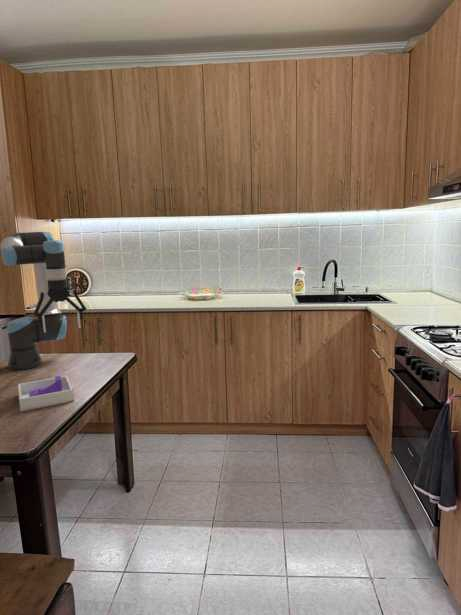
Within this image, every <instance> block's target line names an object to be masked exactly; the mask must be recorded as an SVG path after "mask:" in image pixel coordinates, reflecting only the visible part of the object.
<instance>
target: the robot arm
mask: <svg viewBox="0 0 461 615" xmlns="http://www.w3.org/2000/svg"><path fill="white" fill-rule="evenodd" d="M0 251H1V258H2V259H1V260H2V264H3V265H5V266H12V267H13V266H20V265H30V264H31V265H33V272H34V278H35V285H36V293H37V300H38V302H37V304H36V306H35V309H34V311H33V316H36V318H34V317H33V316H23V317H19V318H16V319H12V320H11V321H9V322H8V323H7V326H6V327H7V332H6V333H7V335H8V344H9V357H8V360H7V367H8V369H9V370H11V371H21V370H22V371H23V370H29V369H33V368H36V367H39V366H41V365H42V364H43V361H42V359H43V358H42V356H41V355H40V353H39V351H38V348H37V343H38V344H39V343H45V342H51V341H58V340H62V339H65V338H66V335H67V329H68V328H67V326H68V325H67V323H68V322H67V316H66V315H64V314H63V312H62V311H61V310H60V309H59V306H58V302H65V301H66V302H68V304H70V305H71V306H72V307H73V308H74V309H75V310H77V311H76V317H77V318H76V319H77V326H78V329H81V328H82V327H81V321H82V320H83V312H84V311H87V307H86V305H85V304H84V303H83V301H82V300H81V299H80V297H79V295H78V293H77V289H75V288H73V289H70V290H69V287H68V286H69V285H68V279H67V269H66V258H65V247H64V242H63V240H61V239H60V240H59V239H56V240H55V238H54V235H53V234H52V233H51V232H50V231H31V232H28V231H27V232H15V233H12V234H10V235H7V236H5V237H4V238H2V240H1V241H0ZM70 294H71V295H72V296H74V299H75V300H76V301H77V302H78V304H79V305H80V306H81V307H80V306H78V305H77V304H76V303H75V302H74V301H73V300H71V298H69V295H70Z"/></svg>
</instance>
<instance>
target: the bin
mask: <svg viewBox="0 0 461 615" xmlns="http://www.w3.org/2000/svg"><path fill="white" fill-rule="evenodd" d="M55 382H56V381H55V377H51V378H47V379H46V378H45V379H40V380H36V381H35V380H34V381H28V382H22V383H18V385H17V386H18V400H19V407H20V410H19V411H20V412H26V411H30V410H35V409H39V408H40V409H41V408H46V407H49V406H51V407H52V406H57V405H61V404H65V403H71V402H75V400H74V399H75V397H74V389H73V387H72V384H71V382H70V379H69V377H68V375H64V376H61V383H62V391H59V392H54V393H48V394H43V395H38V396H32V397H29V393H30V392H31V391H33V390H35V389H42V388H46V387H48V386H50V385H52V384H54V383H55Z"/></svg>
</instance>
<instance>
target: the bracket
mask: <svg viewBox="0 0 461 615" xmlns="http://www.w3.org/2000/svg"><path fill="white" fill-rule="evenodd" d="M61 377H62V376H61V375H58V376H54V378H55V381H56V382H55V383H54V384H52V385H50V386H48V387H46V388H42V389H35V390H33V391H31V392H30V393H29V397H32V396H38V395H43V394H48V393H54V392H59V391H62V383H61Z"/></svg>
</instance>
